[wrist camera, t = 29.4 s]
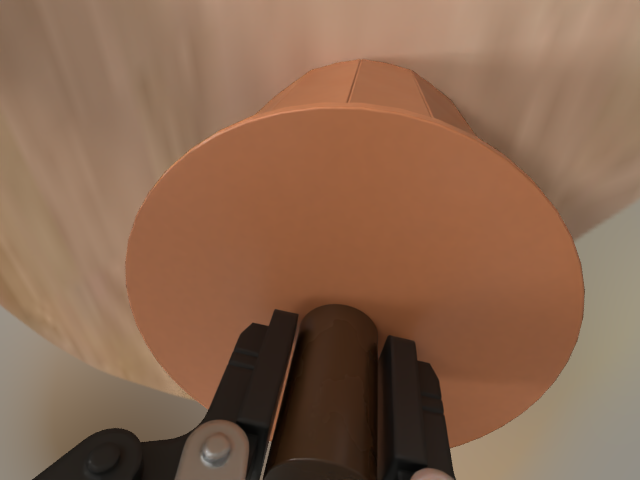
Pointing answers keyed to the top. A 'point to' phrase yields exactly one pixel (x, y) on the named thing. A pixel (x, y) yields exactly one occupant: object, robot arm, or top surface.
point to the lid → (356, 273)
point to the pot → (369, 90)
